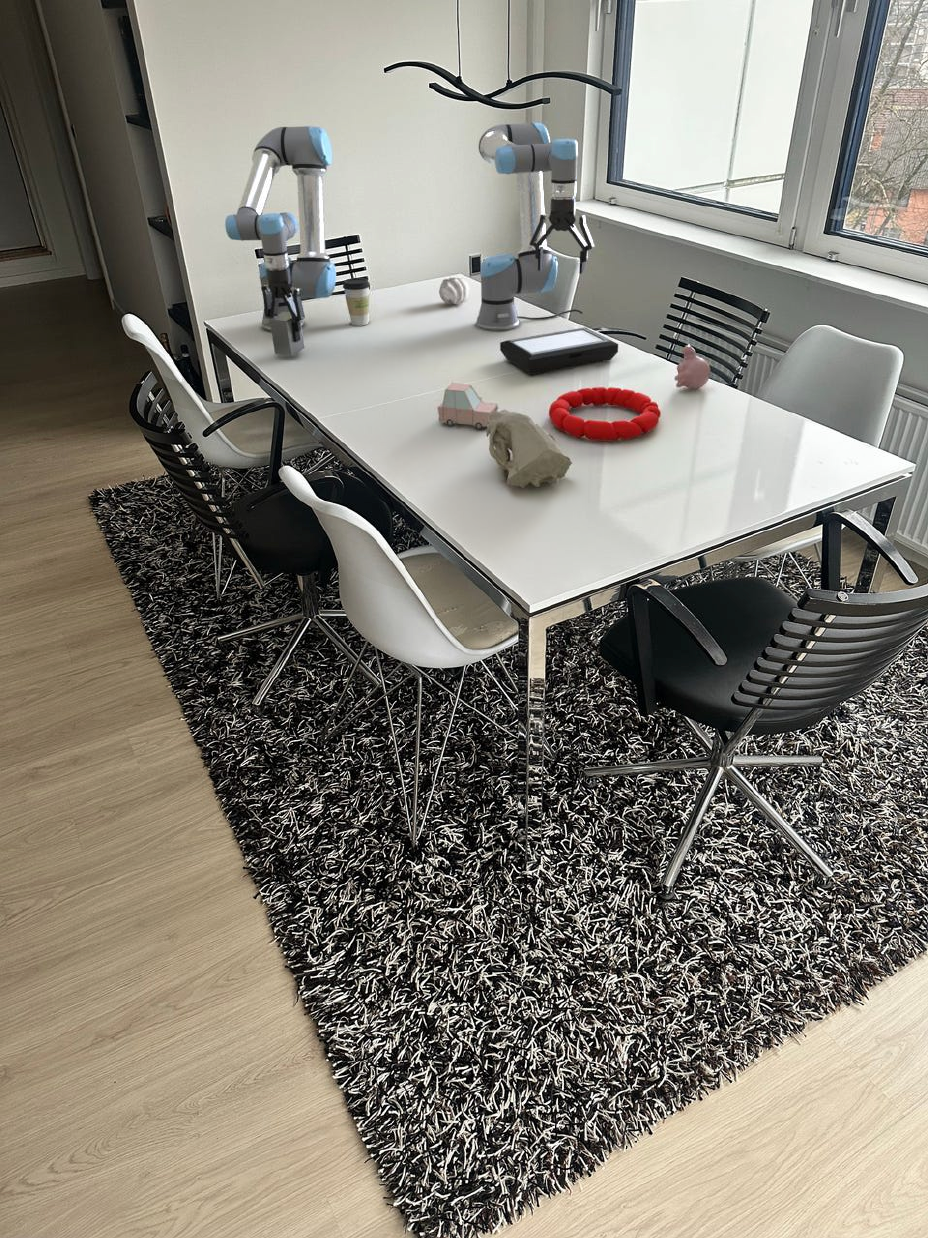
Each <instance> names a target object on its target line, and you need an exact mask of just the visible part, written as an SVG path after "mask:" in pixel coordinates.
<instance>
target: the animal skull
mask: <svg viewBox="0 0 928 1238" xmlns="http://www.w3.org/2000/svg"><path fill="white" fill-rule="evenodd" d="M485 436H486V438H487V437H489V438H488V440H489V444H488V445H489V446H488V450H489V454H490V456H491V457H492V458H493V459H494V460H495V462H496V464H497V466H499V468H500V470H501V471H502V472H501V478H502V479H507V480H506V484H507V486H517V487H518V486H519V488H523V489H524V488H526V486H527V485H529V483H531V485H533V486H534V487H536V488H540V485H541V484H542V482H544V483H549V484H550V485H553V484H555V483H556V482H557V480H561V479H563V478H565V476H566V474H567V472H568V471H569V469H570V467H571V466H572V464H573V462H572V461H571V458H570V457H568V456H567V455H565V453H564V451H562V449H561V448H560V446H559V444H557V443H556V439H555V438H554V436H553V435H551V434H550V433H548V432H547V431H546V430H545V429H544V428H542V427H541V426H539V425H538V424H537V423H536V424H535V422H534V421H533V419H532V418H531V417H530V416H529V415H527V414H524V413H519V412H515V411H509V410H507V409H502V410H500V411H499V410H497V411H496V412H492V413H491V414H490V422H488V423H487V427H486V435H485ZM511 453H512V454H511ZM511 455H512V457H513V458H512V460H511ZM507 474H508V475H507Z"/></svg>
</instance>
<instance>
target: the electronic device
mask: <svg viewBox="0 0 928 1238" xmlns="http://www.w3.org/2000/svg"><path fill="white" fill-rule="evenodd" d="M499 350H500V353H502V355H503V356H504V358H505V359H506V360H507V361H508V362H510V363H511V364H512V365H515V366H517V367H518V368H520V369H521V370H523V371H525V372H526V373H528V374H529V375H530V376H532V375H535V374H542V373H547V372H548V373H549V372H552V371H558V370H564V369H570V368H575V367H580V366H586V365H592V364H597V363H602V362H608V361H611V360H612V359H613V358H614V357H615V356H616V355H617V354H618V352H619V343H617V342H616V341H613V340H612V339H609V338H607V337H605V336H603V335H601V334H599V333H597V332H595V331H594V330H591V329H589V328H587V327H585V326H584V327H579V328H572V329H566V330H561V331H555V332H549V333H543V334H537V335H532V336H525V337H519V338H514V339H508V340H505V341H502V342H499Z"/></svg>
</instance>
